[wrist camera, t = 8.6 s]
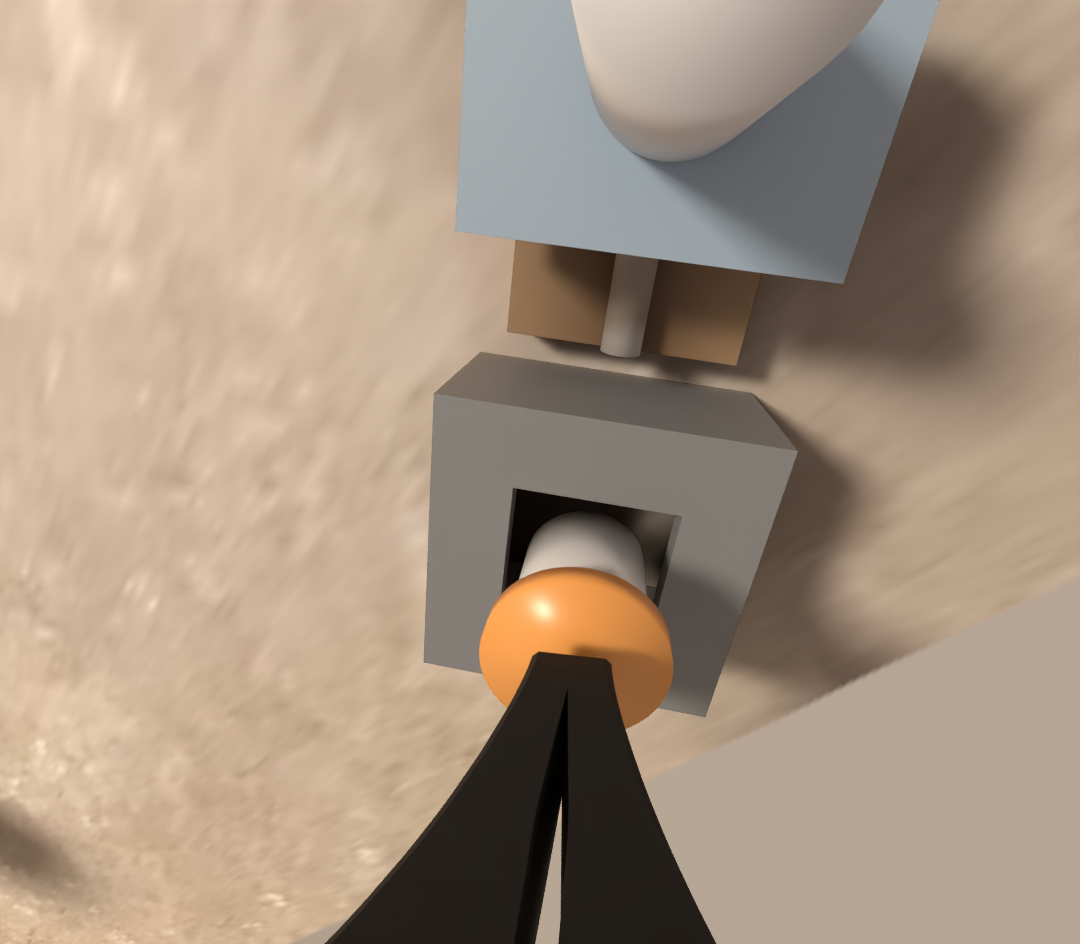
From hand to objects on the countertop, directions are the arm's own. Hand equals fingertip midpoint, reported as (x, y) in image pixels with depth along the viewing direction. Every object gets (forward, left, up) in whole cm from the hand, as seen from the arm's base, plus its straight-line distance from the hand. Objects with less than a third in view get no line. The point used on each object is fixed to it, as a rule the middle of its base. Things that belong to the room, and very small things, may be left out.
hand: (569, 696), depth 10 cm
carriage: (0, -10, -6) cm, 12 cm away
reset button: (0, 0, -4) cm, 4 cm away
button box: (0, 0, -8) cm, 8 cm away
